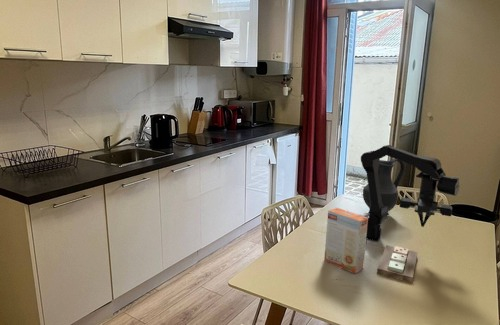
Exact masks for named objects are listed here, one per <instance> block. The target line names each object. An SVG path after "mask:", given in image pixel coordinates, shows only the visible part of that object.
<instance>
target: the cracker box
mask: <svg viewBox="0 0 500 325" xmlns="http://www.w3.org/2000/svg"><path fill="white" fill-rule="evenodd" d="M368 218H369V217H367V216H364V215H361V214H359V213H355V212H351V211H349V210H345V209H342V208H339V207H334V208H332V209H329V210H328V211H327V224H326V234H325V244H324V247H325V248H324V257H323V258H324V261H327V262H329V263H330V264H333V265H335V266H338V267H340V268H341V269H344V270H346V271H348V272H351V273H352V274H357V273H359V272H360V271H362V270H363V269H364V262H365V252H366V244H367V239H366V235H367V225H368Z"/></svg>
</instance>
